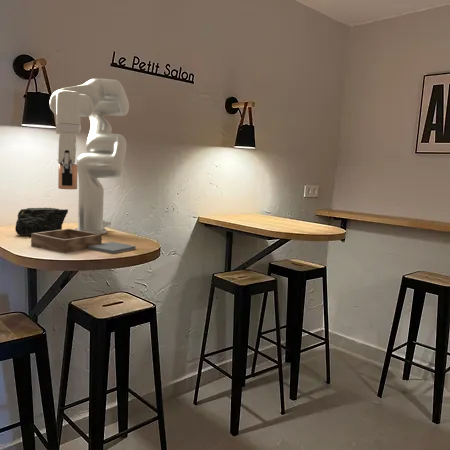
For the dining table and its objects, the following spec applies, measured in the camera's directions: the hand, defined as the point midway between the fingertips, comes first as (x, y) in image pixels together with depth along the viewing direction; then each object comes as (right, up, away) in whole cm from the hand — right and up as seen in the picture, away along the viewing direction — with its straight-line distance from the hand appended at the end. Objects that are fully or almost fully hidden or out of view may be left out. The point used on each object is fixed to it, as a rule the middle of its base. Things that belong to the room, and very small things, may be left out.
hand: (67, 184), depth 150 cm
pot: (0, -1, 0) cm, 1 cm away
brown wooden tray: (-1, -21, +3) cm, 21 cm away
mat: (+14, -22, +2) cm, 26 cm away
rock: (-17, -17, +22) cm, 33 cm away
